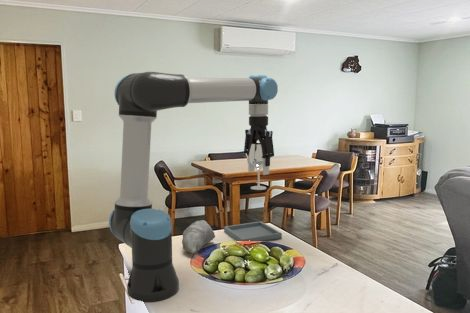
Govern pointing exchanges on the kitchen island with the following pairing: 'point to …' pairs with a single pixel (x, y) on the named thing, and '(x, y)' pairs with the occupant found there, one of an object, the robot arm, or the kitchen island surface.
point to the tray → (252, 232)
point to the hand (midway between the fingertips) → (258, 172)
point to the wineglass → (256, 161)
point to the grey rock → (197, 236)
